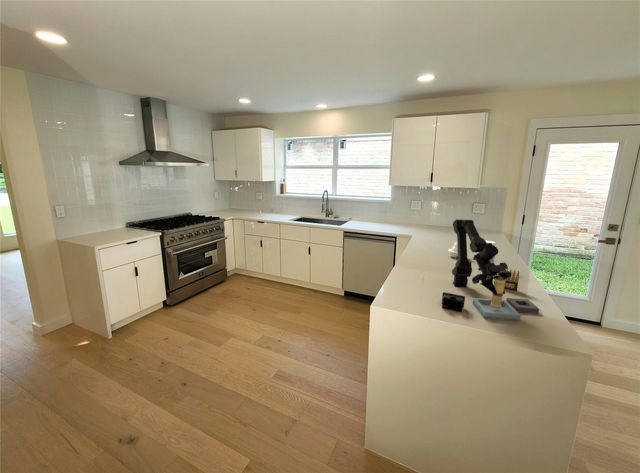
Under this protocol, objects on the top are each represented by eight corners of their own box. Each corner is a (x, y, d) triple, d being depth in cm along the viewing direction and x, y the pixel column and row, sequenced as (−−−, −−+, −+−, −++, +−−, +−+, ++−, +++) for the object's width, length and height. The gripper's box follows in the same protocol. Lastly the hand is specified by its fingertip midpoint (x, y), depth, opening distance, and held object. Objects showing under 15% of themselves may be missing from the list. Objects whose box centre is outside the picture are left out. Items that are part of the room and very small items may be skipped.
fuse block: (515, 311, 137) (516, 306, 137) (505, 302, 147) (506, 297, 146) (538, 313, 136) (539, 308, 135) (527, 304, 145) (528, 299, 145)
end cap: (463, 307, 142) (465, 294, 140) (463, 313, 136) (464, 300, 134) (442, 302, 146) (443, 290, 145) (440, 308, 140) (441, 295, 139)
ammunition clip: (494, 287, 166) (498, 267, 163) (495, 286, 167) (498, 266, 165) (517, 291, 160) (520, 271, 157) (516, 290, 162) (520, 270, 159)
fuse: (490, 307, 135) (495, 280, 132) (490, 303, 139) (494, 277, 136) (501, 309, 134) (506, 281, 130) (500, 305, 137) (505, 278, 134)
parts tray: (483, 318, 131) (484, 312, 130) (472, 303, 145) (473, 297, 145) (519, 321, 129) (520, 315, 128) (504, 305, 143) (505, 300, 142)
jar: (488, 264, 205) (492, 240, 201) (495, 269, 196) (499, 243, 191) (474, 263, 206) (478, 239, 202) (480, 268, 196) (484, 243, 192)
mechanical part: (444, 256, 224) (446, 241, 221) (455, 254, 229) (457, 240, 226) (456, 260, 214) (458, 245, 211) (467, 258, 219) (469, 243, 216)
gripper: (480, 258, 132) (496, 289, 124) (511, 255, 137) (529, 285, 129) (465, 268, 141) (479, 298, 134) (495, 265, 146) (511, 294, 138)
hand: (500, 294), depth 133 cm, fingers closed on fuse, 4 cm apart
